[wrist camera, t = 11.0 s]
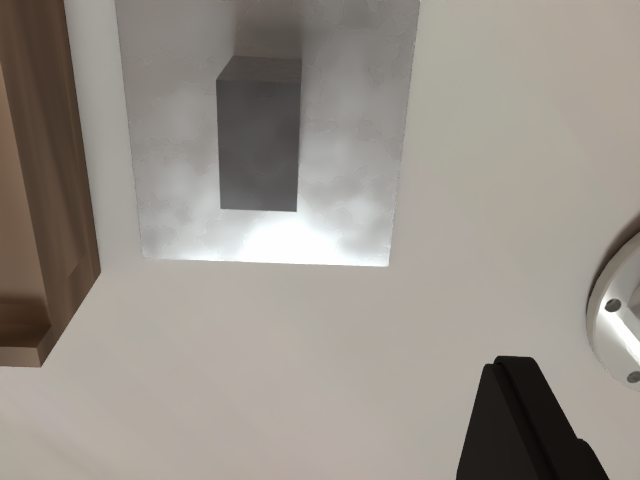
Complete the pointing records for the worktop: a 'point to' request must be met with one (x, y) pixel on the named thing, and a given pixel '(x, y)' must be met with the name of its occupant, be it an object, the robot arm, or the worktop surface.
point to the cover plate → (330, 133)
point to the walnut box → (40, 185)
